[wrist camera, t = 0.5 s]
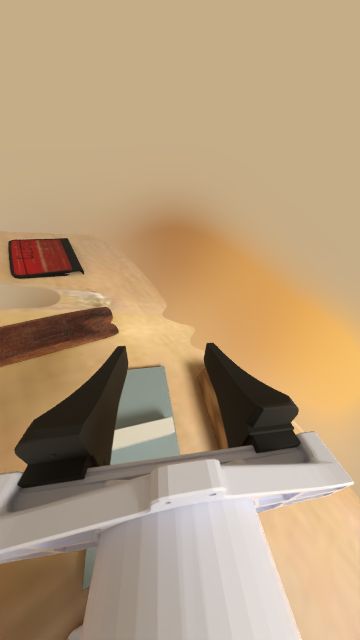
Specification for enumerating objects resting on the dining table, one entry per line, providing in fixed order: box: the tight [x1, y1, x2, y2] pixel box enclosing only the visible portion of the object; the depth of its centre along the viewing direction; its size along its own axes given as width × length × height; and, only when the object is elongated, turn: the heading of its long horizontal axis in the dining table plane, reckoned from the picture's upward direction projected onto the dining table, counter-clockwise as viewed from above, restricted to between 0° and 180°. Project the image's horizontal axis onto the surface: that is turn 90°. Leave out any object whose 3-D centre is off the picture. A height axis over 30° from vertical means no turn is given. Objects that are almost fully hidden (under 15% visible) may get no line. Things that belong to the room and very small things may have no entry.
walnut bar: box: [197, 368, 228, 450], centre depth 28 cm, size 18×5×5 cm, turn 14°
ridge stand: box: [82, 366, 180, 590], centre depth 23 cm, size 22×12×4 cm, turn 14°
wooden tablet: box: [0, 307, 119, 367], centre depth 31 cm, size 26×2×10 cm
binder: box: [9, 238, 84, 279], centre depth 47 cm, size 16×2×21 cm
